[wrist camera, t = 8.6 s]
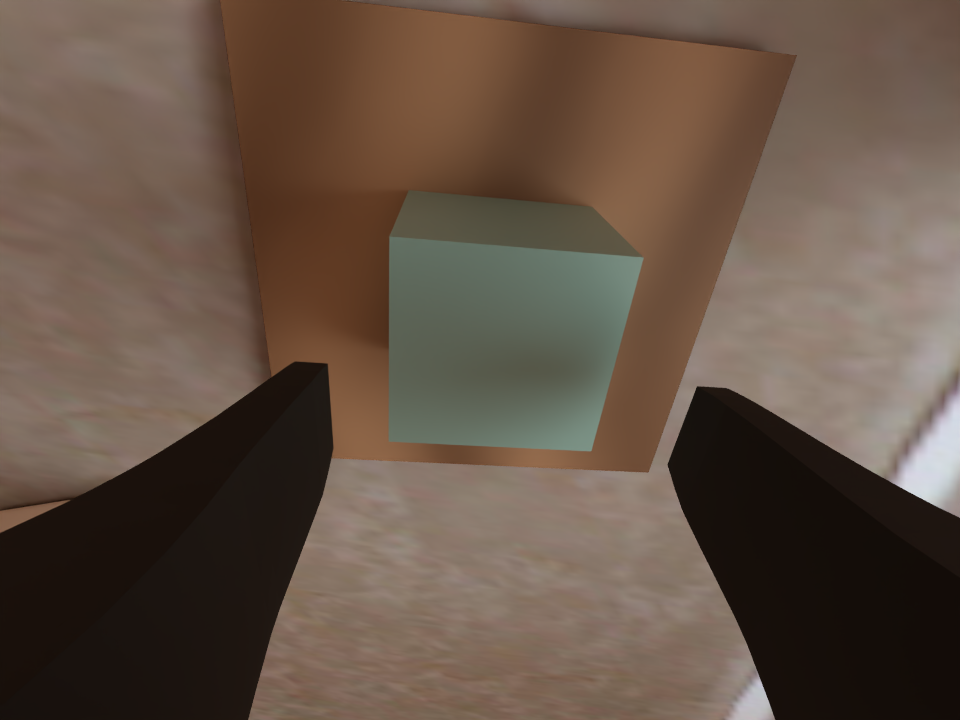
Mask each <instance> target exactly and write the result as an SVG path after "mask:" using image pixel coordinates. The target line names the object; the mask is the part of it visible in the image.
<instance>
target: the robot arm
mask: <svg viewBox="0 0 960 720" xmlns="http://www.w3.org/2000/svg"><path fill="white" fill-rule="evenodd" d="M333 449H334V446H333V431H332V417H331V402H330V387H329V373H328V363H313V362H297V361H294V362H293V363H291V364H290V365H288V366H287V367H285V368H284V369H282V370H281V371H279V372H278V373H277V374H275V375H274V376H272V377H271V378H270V379H268V380H267V381H266V382H264V383H263V384H261V385H260V386H259V387H257V388H256V389H255V390H253V391H252V392H250V393H249V394H248V395H246V396H245V397H243V398H242V399H240V400H239V401H238V402H236V403H235V404H233V405H232V406H230V407H229V408H228V409H226V410H225V411H223V412H222V413H220V414H219V415H218V416H216V417H215V418H213V419H211V420H210V421H208V422H207V423H205V424H204V425H202V426H200V427H199V428H197V429H196V430H194V431H193V432H191V433H189V434H188V435H186V436H185V437H183V438H182V439H180V440H178V441H177V442H175V443H174V444H172V445H171V446H169V447H167V448H166V449H164V450H163V451H161V452H159V453H158V454H156V455H154V456H153V457H151V458H149V459H147V460H146V461H144V462H142V463H140V464H139V465H137V466H135V467H133V468H131V469H130V470H128V471H126V472H124V473H122V474H120V475H119V476H117V477H115V478H113V479H111V480H109V481H107V482H105V483H103V484H102V485H100V486H98V487H96V488H94V489H92V490H90V491H88V492H86V493H84V494H82V495H80V496H78V497H76V498H74V499H72V500H70V501H68V502H66V503H64V504H62V505H59V506H57V507H55V508H53V509H51V510H49V511H46V512H44V513H42V514H40V515H38V516H36V517H33V518H31V519H29V520H27V521H25V522H23V523H20V524H18V525H16V526H14V527H12V528H10V529H7V530H5V531H3V532H1V533H0V720H248V718H249V714H250V710H251V707H252V703H253V699H254V695H255V691H256V688H257V684H258V681H259V677H260V673H261V670H262V666H263V662H264V659H265V655H266V651H267V648H268V644H269V640H270V637H271V633H272V630H273V627H274V624H275V621H276V618H277V615H278V612H279V609H280V606H281V604H282V601H283V599H284V596H285V593H286V591H287V588H288V585H289V583H290V580H291V578H292V575H293V572H294V570H295V567H296V564H297V562H298V559H299V557H300V554H301V551H302V549H303V546H304V543H305V541H306V538H307V536H308V533H309V530H310V528H311V525H312V522H313V520H314V517H315V514H316V512H317V509H318V506H319V503H320V501H321V498H322V495H323V491H324V487H325V483H326V479H327V475H328V471H329V467H330V462H331V458H332V453H333ZM668 468H669V471H670V474H671V478H672V481H673V484H674V487H675V491H676V493H677V496H678V499H679V502H680V505H681V508H682V510H683V512H684V515H685V517H686V519H687V521H688V523H689V525H690V527H691V529H692V531H693V533H694V535H695V538H696V540H697V542H698V544H699V546H700V548H701V550H702V552H703V554H704V556H705V558H706V560H707V562H708V564H709V566H710V568H711V570H712V572H713V574H714V576H715V578H716V580H717V582H718V584H719V586H720V588H721V590H722V592H723V594H724V596H725V598H726V600H727V602H728V604H729V606H730V608H731V610H732V612H733V614H734V616H735V618H736V620H737V623H738V625H739V627H740V629H741V632H742V634H743V636H744V638H745V640H746V643H747V645H748V648H749V650H750V653H751V656H752V658H753V661H754V664H755V666H756V669H757V671H758V674H759V677H760V679H761V682H762V685H763V687H764V690H765V692H766V695H767V698H768V700H769V703H770V706H771V709H772V712H773V715H774V717H775V720H960V518H959V517H957V516H955V515H953V514H951V513H949V512H946V511H944V510H942V509H940V508H938V507H936V506H934V505H932V504H930V503H929V502H927V501H925V500H923V499H921V498H919V497H917V496H915V495H913V494H911V493H909V492H908V491H906V490H904V489H902V488H900V487H898V486H897V485H895V484H893V483H891V482H889V481H888V480H886V479H884V478H882V477H880V476H879V475H877V474H875V473H873V472H871V471H870V470H868V469H866V468H864V467H863V466H861V465H859V464H857V463H856V462H854V461H852V460H850V459H849V458H847V457H845V456H844V455H842V454H840V453H838V452H837V451H835V450H833V449H832V448H830V447H828V446H827V445H825V444H823V443H822V442H820V441H818V440H817V439H815V438H813V437H812V436H810V435H808V434H807V433H805V432H803V431H802V430H800V429H798V428H797V427H795V426H794V425H792V424H790V423H789V422H787V421H785V420H784V419H782V418H780V417H779V416H777V415H775V414H774V413H772V412H770V411H769V410H767V409H765V408H763V407H762V406H760V405H758V404H756V403H755V402H753V401H751V400H749V399H747V398H746V397H744V396H742V395H740V394H738V393H736V392H734V391H732V390H729V389H727V388H715V387H699V386H697V388H696V391H695V393H694V396H693V399H692V401H691V404H690V407H689V409H688V412H687V415H686V417H685V420H684V422H683V425H682V428H681V430H680V433H679V436H678V438H677V441H676V444H675V446H674V449H673V452H672V454H671V457H670V459H669V462H668Z"/></svg>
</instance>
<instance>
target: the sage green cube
mask: <svg viewBox="0 0 960 720" xmlns="http://www.w3.org/2000/svg"><path fill="white" fill-rule="evenodd" d="M643 258H644V257H643V256H642V255H641V254H640V253H639V252H638V251H637V250H635V249H634V248H633V247H632V246H631V245H630V244H629V243H628V242H627V241H626V240H625V239H624V238H623V237H622V236H621V235H620V234H619V233H618V232H617V231H616V230H615V229H614V228H613V227H612V226H611V225H610V224H609V223H608V222H607V221H606V220H605V219H604V218H603V217H602V216H601V215H600V214H599V213H598V212H597V211H596V210H595V209H594V208H593V207H589V206H578V205H567V204H556V203H545V202H534V201H523V200H512V199H501V198H490V197H479V196H468V195H457V194H446V193H435V192H424V191H413V190H409V191H408V193H407V196H406V198H405V200H404V203H403V205H402V208H401V210H400V212H399V215H398V217H397V219H396V222H395V224H394V227H393V229H392V231H391V234H390V236H389V442H407V443H427V444H448V445H469V446H489V447H510V448H530V449H551V450H572V451H592V447H593V443H594V439H595V436H596V432H597V428H598V425H599V421H600V417H601V414H602V410H603V406H604V402H605V399H606V395H607V391H608V388H609V384H610V380H611V377H612V373H613V369H614V366H615V362H616V358H617V354H618V351H619V347H620V343H621V340H622V336H623V332H624V329H625V325H626V321H627V318H628V314H629V310H630V306H631V303H632V299H633V295H634V292H635V288H636V284H637V281H638V277H639V273H640V269H641V266H642V262H643Z"/></svg>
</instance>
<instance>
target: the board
mask: <svg viewBox="0 0 960 720" xmlns="http://www.w3.org/2000/svg"><path fill="white" fill-rule="evenodd" d="M220 4H221V11H222V19H223V26H224V33H225V41H226V48H227V55H228V63H229V70H230V77H231V85H232V92H233V99H234V106H235V114H236V121H237V128H238V136H239V143H240V150H241V158H242V165H243V172H244V180H245V187H246V194H247V202H248V209H249V216H250V224H251V231H252V238H253V246H254V253H255V260H256V267H257V275H258V282H259V289H260V297H261V304H262V311H263V319H264V326H265V333H266V341H267V348H268V355H269V363H270V370H271V377H272V376H274V375H275V374H277V373H278V372H279V371H281V370H282V369H284V368H285V367H287V366H288V365H290V364H291V363H293V362H294V361H297V362H313V363H328V373H329V387H330V402H331V417H332V431H333V446H334V449H333V453H332V458H340V459H362V460H385V461H407V462H429V463H451V464H473V465H495V466H517V467H539V468H561V469H583V470H605V471H627V472H649V469H650V467H651V464H652V461H653V458H654V455H655V453H656V450H657V447H658V444H659V441H660V438H661V436H662V433H663V430H664V427H665V424H666V422H667V419H668V416H669V413H670V410H671V408H672V405H673V402H674V399H675V396H676V393H677V391H678V388H679V385H680V382H681V379H682V377H683V374H684V371H685V368H686V365H687V363H688V360H689V357H690V354H691V351H692V348H693V346H694V343H695V340H696V337H697V334H698V332H699V329H700V326H701V323H702V320H703V318H704V315H705V312H706V309H707V306H708V303H709V301H710V298H711V295H712V292H713V289H714V287H715V284H716V281H717V278H718V275H719V273H720V270H721V267H722V264H723V261H724V259H725V256H726V253H727V250H728V247H729V244H730V242H731V239H732V236H733V233H734V230H735V228H736V225H737V222H738V219H739V216H740V214H741V211H742V208H743V205H744V202H745V199H746V197H747V194H748V191H749V188H750V185H751V183H752V180H753V177H754V174H755V171H756V169H757V166H758V163H759V160H760V157H761V154H762V152H763V149H764V146H765V143H766V140H767V138H768V135H769V132H770V129H771V126H772V124H773V121H774V118H775V115H776V112H777V109H778V107H779V104H780V101H781V98H782V95H783V93H784V90H785V87H786V84H787V81H788V79H789V76H790V73H791V70H792V67H793V65H794V62H795V59H796V56H797V55H789V54H781V53H772V52H764V51H756V50H748V49H739V48H731V47H723V46H715V45H706V44H698V43H690V42H682V41H673V40H665V39H657V38H649V37H640V36H632V35H624V34H616V33H607V32H599V31H591V30H582V29H574V28H566V27H558V26H549V25H541V24H533V23H525V22H516V21H508V20H500V19H492V18H483V17H475V16H467V15H459V14H450V13H442V12H434V11H425V10H417V9H409V8H401V7H392V6H384V5H376V4H368V3H359V2H351V1H343V0H220ZM409 190H413V191H424V192H435V193H446V194H457V195H468V196H479V197H490V198H501V199H512V200H523V201H534V202H545V203H556V204H567V205H578V206H589V207H593V208H594V209H595V210H596V211H597V212H598V213H599V214H600V215H601V216H602V217H603V218H604V219H605V220H606V221H607V222H608V223H609V224H610V225H611V226H612V227H613V228H614V229H615V230H616V231H617V232H618V233H619V234H620V235H621V236H622V237H623V238H624V239H625V240H626V241H627V242H628V243H629V244H630V245H631V246H632V247H633V248H634V249H635V250H637V251H638V252H639V253H640V254H641V255H642V256H643V257H644V258H643V262H642V266H641V269H640V273H639V277H638V281H637V284H636V288H635V292H634V295H633V299H632V303H631V306H630V310H629V314H628V318H627V321H626V325H625V329H624V332H623V336H622V340H621V343H620V347H619V351H618V354H617V358H616V362H615V366H614V369H613V373H612V377H611V380H610V384H609V388H608V391H607V395H606V399H605V402H604V406H603V410H602V414H601V417H600V421H599V425H598V428H597V432H596V436H595V439H594V443H593V447H592V451H572V450H551V449H530V448H510V447H489V446H469V445H448V444H427V443H407V442H389V236H390V234H391V231H392V229H393V227H394V224H395V222H396V219H397V217H398V215H399V212H400V210H401V208H402V205H403V203H404V200H405V198H406V196H407V193H408V191H409Z"/></svg>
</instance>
